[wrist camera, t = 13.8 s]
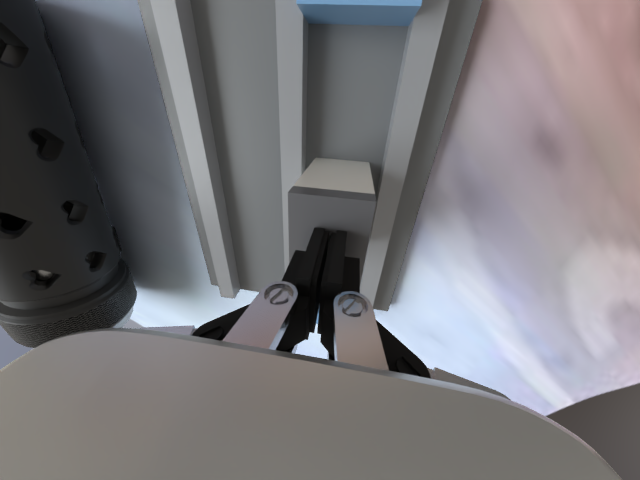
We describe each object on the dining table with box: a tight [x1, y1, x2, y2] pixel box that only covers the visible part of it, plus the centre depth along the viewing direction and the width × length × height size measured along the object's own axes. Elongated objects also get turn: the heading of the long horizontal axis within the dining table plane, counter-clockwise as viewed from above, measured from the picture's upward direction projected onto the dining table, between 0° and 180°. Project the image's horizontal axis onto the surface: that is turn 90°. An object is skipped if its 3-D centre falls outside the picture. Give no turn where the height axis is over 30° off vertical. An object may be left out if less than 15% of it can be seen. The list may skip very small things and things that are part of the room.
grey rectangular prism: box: [288, 158, 376, 283], centre depth 15 cm, size 6×4×8 cm, turn 177°
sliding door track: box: [138, 0, 482, 324], centre depth 18 cm, size 24×20×4 cm
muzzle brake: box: [0, 0, 137, 348], centre depth 18 cm, size 10×28×10 cm, turn 168°
